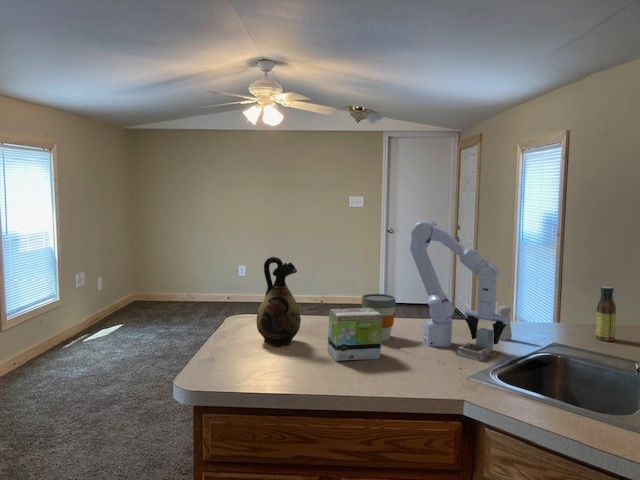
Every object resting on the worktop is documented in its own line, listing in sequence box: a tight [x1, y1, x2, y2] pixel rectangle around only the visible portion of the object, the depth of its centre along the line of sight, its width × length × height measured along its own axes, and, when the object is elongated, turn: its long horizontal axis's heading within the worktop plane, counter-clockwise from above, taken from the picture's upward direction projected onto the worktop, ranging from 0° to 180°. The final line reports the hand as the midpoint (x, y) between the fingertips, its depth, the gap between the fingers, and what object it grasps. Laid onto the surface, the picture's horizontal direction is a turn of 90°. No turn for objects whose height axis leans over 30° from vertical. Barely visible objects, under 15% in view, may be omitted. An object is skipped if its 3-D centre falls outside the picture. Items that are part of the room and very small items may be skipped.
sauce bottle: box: [595, 285, 617, 342], centre depth 180 cm, size 7×6×20 cm
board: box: [455, 342, 501, 362], centre depth 159 cm, size 14×9×4 cm, turn 135°
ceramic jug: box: [255, 256, 302, 348], centre depth 168 cm, size 17×15×30 cm
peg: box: [475, 327, 494, 352], centre depth 161 cm, size 4×4×7 cm
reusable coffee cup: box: [361, 293, 397, 342], centre depth 177 cm, size 13×13×15 cm
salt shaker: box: [498, 305, 513, 342], centre depth 175 cm, size 6×6×13 cm
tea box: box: [327, 307, 382, 362], centre depth 156 cm, size 15×10×15 cm, turn 105°
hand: (484, 341), depth 161 cm, fingers open, 7 cm apart
